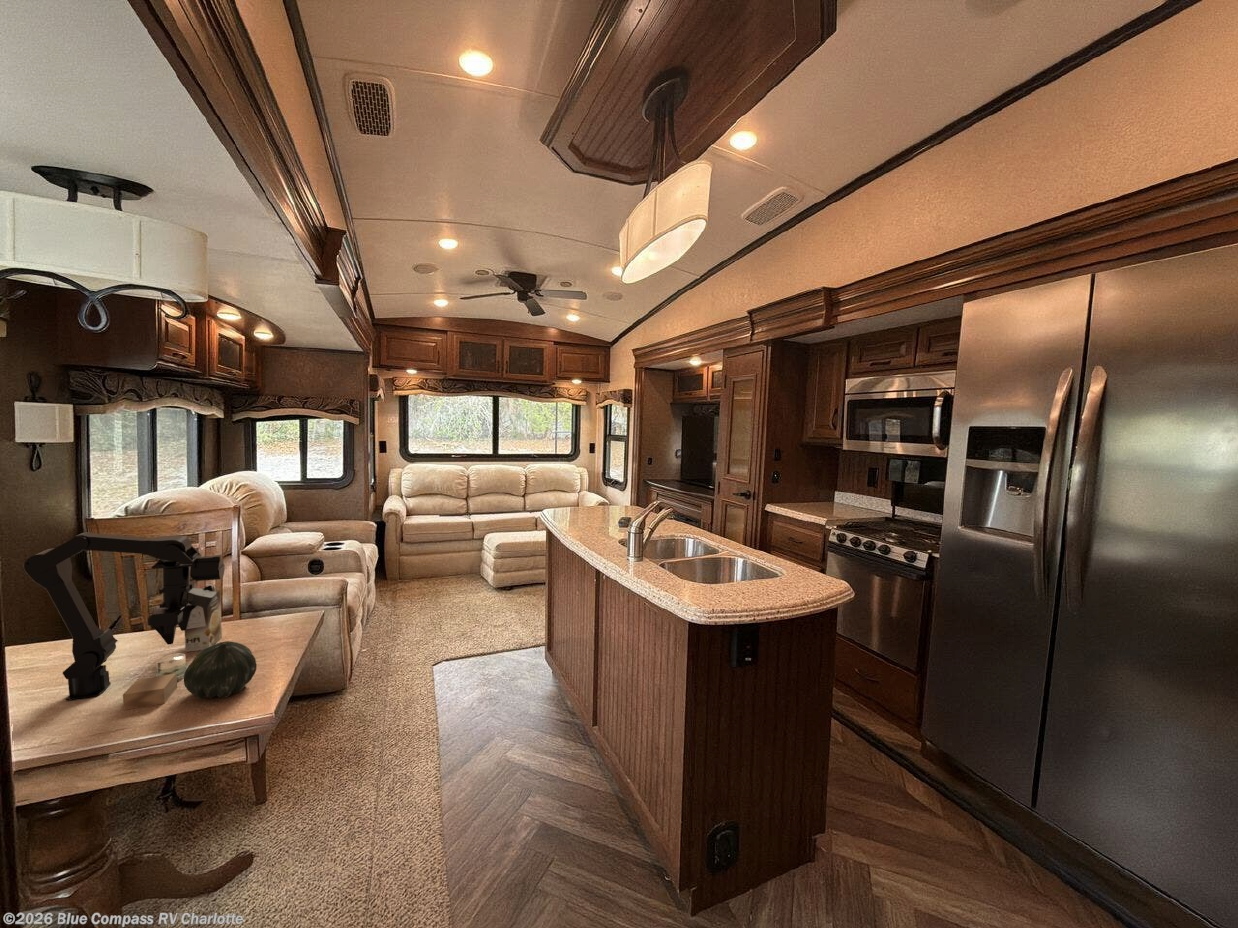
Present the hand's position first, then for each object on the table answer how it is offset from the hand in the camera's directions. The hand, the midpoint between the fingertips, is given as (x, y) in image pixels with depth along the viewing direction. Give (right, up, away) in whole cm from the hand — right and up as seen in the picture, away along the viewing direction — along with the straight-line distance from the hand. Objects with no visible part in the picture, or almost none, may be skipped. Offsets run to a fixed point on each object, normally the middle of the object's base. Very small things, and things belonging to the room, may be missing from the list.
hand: (177, 637), depth 140 cm
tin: (-2, -12, +1) cm, 12 cm away
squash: (+16, -13, -5) cm, 22 cm away
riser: (+1, -13, -9) cm, 16 cm away
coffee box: (-10, -10, +21) cm, 25 cm away
